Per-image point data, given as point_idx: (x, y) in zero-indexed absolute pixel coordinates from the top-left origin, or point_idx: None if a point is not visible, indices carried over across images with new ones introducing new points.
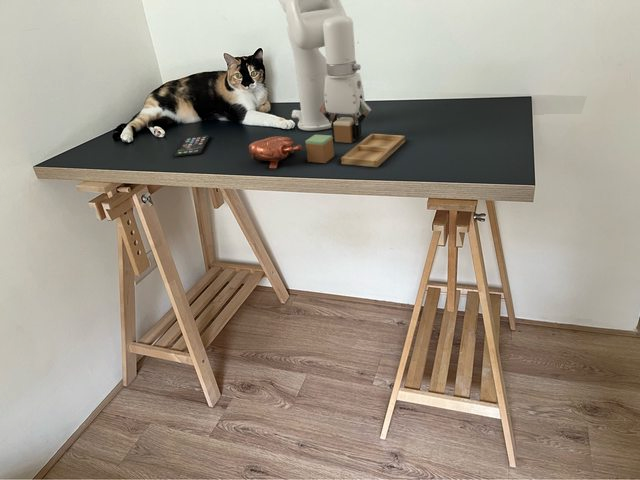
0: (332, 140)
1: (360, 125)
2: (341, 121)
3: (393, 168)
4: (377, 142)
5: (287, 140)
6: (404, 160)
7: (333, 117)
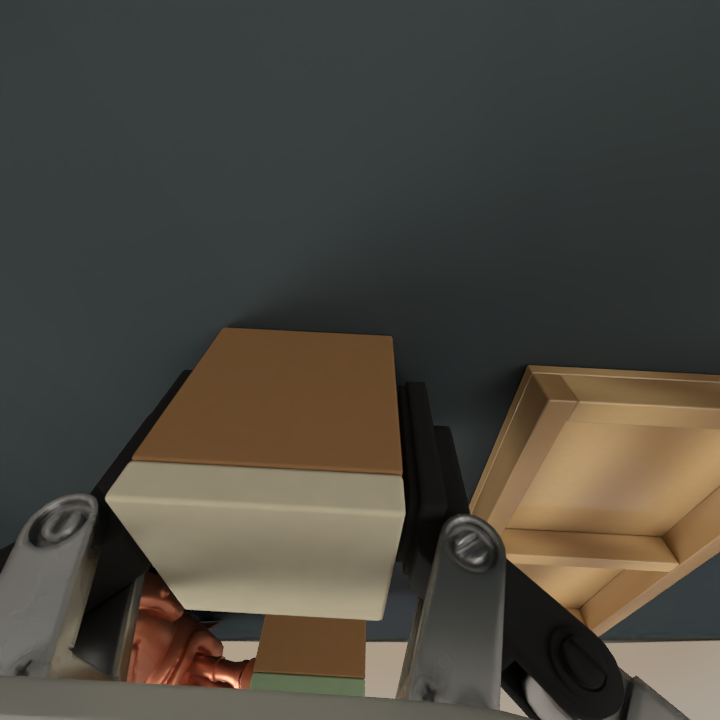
0: (364, 665)
1: (463, 507)
2: (255, 598)
3: (648, 606)
4: (589, 449)
5: (133, 673)
6: (716, 568)
7: (126, 644)
